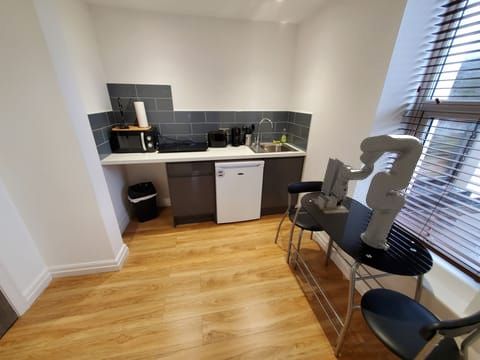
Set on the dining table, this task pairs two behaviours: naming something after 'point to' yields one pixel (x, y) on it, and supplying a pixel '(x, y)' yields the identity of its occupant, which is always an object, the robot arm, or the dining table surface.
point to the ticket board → (331, 208)
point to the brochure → (331, 175)
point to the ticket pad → (325, 201)
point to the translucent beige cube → (335, 201)
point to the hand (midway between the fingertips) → (335, 203)
